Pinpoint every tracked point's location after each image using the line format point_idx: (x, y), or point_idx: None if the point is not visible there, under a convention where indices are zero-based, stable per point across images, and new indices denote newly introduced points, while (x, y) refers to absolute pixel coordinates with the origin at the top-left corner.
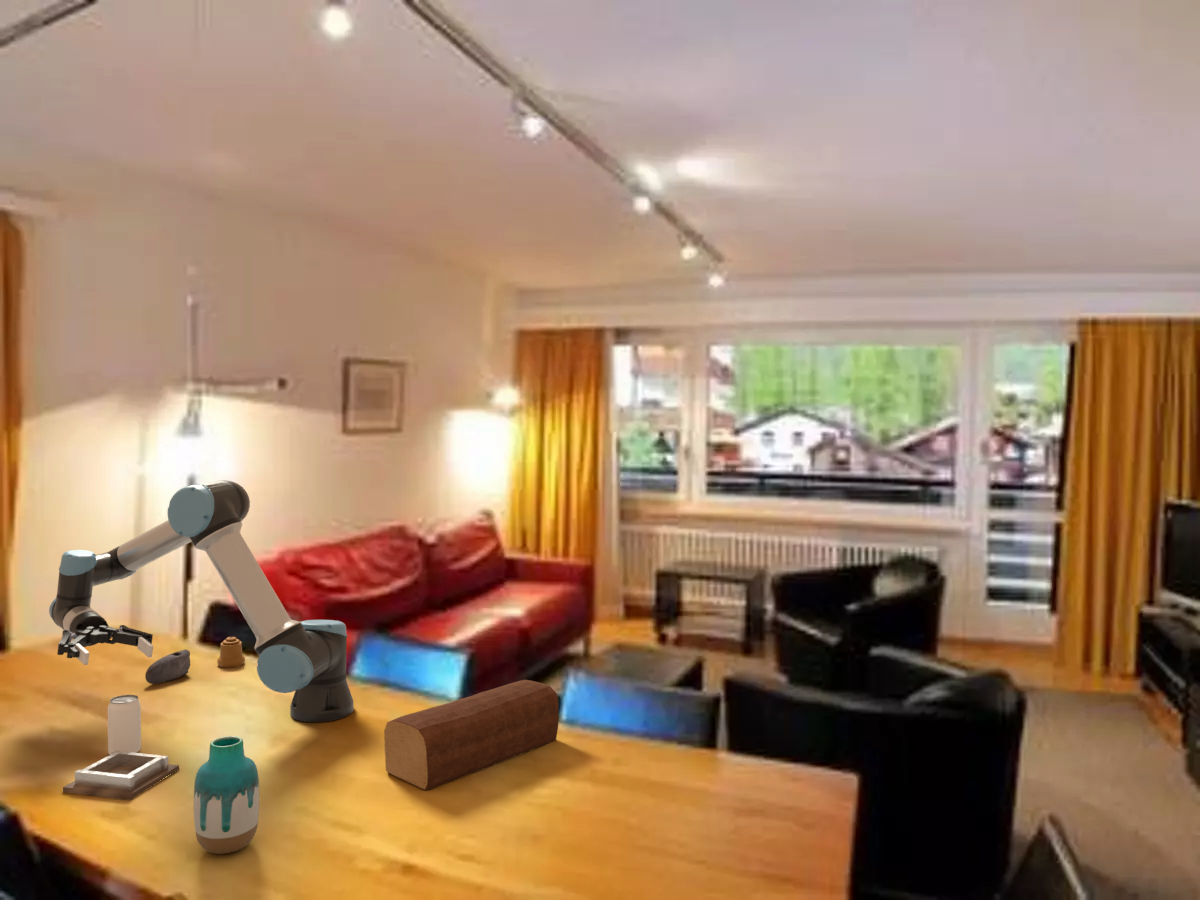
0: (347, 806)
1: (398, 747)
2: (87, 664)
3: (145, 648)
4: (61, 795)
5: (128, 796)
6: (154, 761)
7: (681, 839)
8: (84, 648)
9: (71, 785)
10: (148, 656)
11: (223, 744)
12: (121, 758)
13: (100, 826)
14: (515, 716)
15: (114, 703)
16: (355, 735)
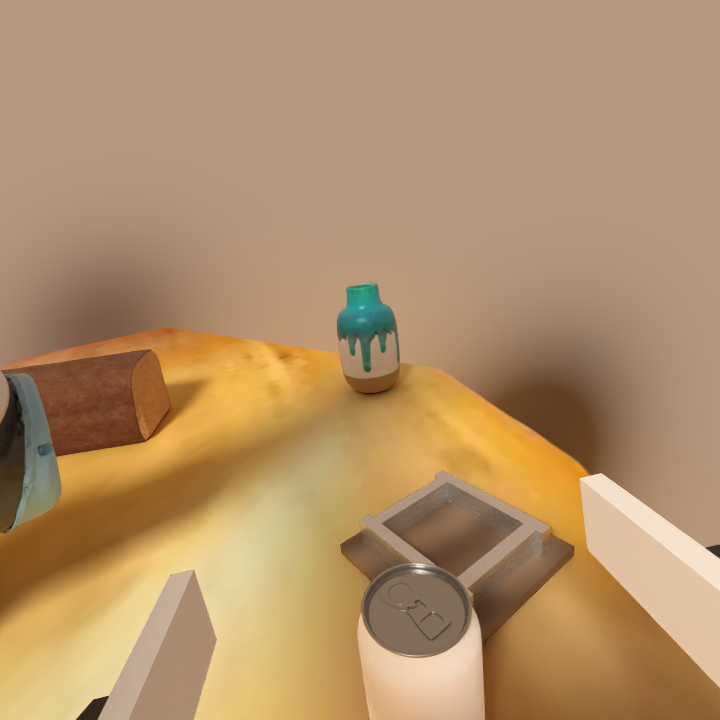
0: (244, 407)
1: (147, 391)
2: (590, 547)
3: (184, 660)
4: (572, 544)
5: None
6: (390, 509)
7: (150, 348)
8: (643, 529)
9: (556, 546)
10: (214, 635)
11: (361, 295)
12: None
13: (488, 443)
14: None
15: (454, 580)
16: (8, 552)
